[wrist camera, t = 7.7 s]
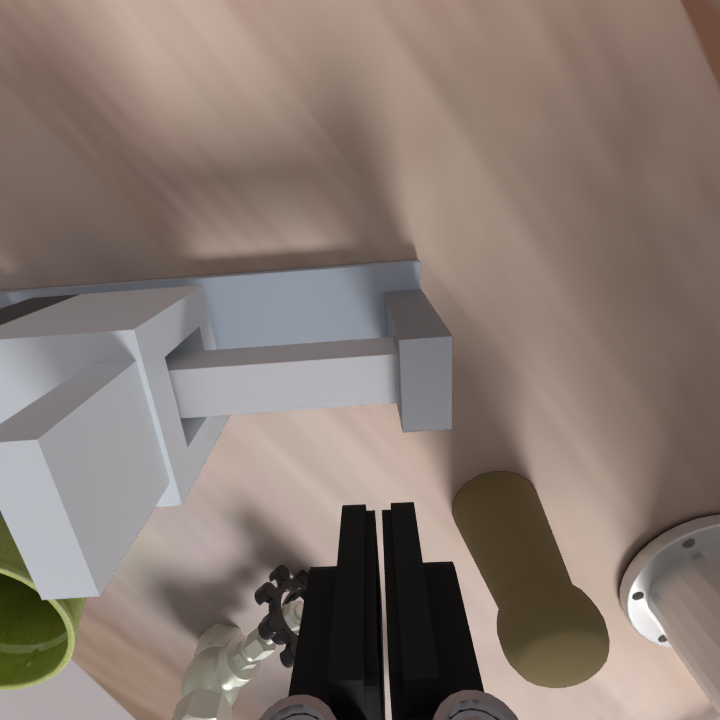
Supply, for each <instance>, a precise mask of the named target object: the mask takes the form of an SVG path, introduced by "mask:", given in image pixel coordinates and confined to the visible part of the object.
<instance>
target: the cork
mask: <svg viewBox="0 0 720 720" xmlns="http://www.w3.org/2000/svg"><path fill="white" fill-rule="evenodd" d="M452 515H453V518H454V520H455V523H456V525H457V527H458V529H459V531H460V533H461V535H462V537H463V539H464V541H465V543H466V545H467V547H468V549H469V551H470V553H471V555H472V557H473V559H474V561H475V563H476V565H477V567H478V569H479V571H480V573H481V575H482V577H483V579H484V581H485V583H486V585H487V587H488V589H489V591H490V593H491V595H492V596H493V598H494V600H495V602H496V604H497V606H498V608H499V610H498V616H497V634H498V637H499V640H500V644H501V647H502V649H503V652H504V655H505V657H506V658H507V660H508V662H509V663H510V665H511V666H512V667H513V668H514V669H515V670H516V671H517V672H518V673H519V674H520V675H521V676H522V677H523V678H524V679H525V680H527V681H529V682H531V683H533V684H535V685H538V686H543V687H549V688H565V687H569V686H574V685H577V684H580V683H582V682H584V681H586V680H588V679H589V678H591V677H592V676H593V675H594V674H596V673H597V672H598V671H599V670H600V669H601V668H602V666H603V665H604V663H605V662H606V661H607V657H608V653H609V641H610V640H609V636H608V631H607V627H606V624H605V621H604V618H603V616H602V615H601V613H600V611H599V610H598V608H597V607H596V605H595V604H594V603H593V602H592V600H591V599H590V598H589V597H588V596H587V595H586V594H585V593H584V592H583V591H582V590H581V589H579V588H578V587H576V586H574V585H572V582H571V579H570V577H569V574H568V572H567V569H566V566H565V564H564V561H563V559H562V556H561V554H560V551H559V548H558V546H557V543H556V541H555V538H554V535H553V533H552V530H551V528H550V525H549V523H548V520H547V517H546V515H545V512H544V510H543V507H542V504H541V502H540V499H539V497H538V494H537V491H536V489H535V488H534V487H533V485H532V484H531V483H530V481H529V480H527V479H525V478H524V477H522V476H520V475H519V474H515V473H511V472H507V471H498V472H489V473H486V474H482V475H479V476H477V477H475V478H474V479H472V480H470V481H469V482H467V483H466V484H465V485H464V486H463V487H462V488H461V489H460V490H459V492H458V493H457V495H456V497H455V500H454V502H453V510H452Z"/></svg>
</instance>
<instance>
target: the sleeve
mask: <svg viewBox="0 0 720 720" xmlns="http://www.w3.org/2000/svg"><path fill="white" fill-rule="evenodd" d="M206 350H217V349H216V344H215V339H214V334H213V329H212V324H211V320H210V315H209V310H208V305H207V300H206V295H205V290H204V285H196V286H183V287H170V288H156V289H143V290H130V291H116V292H103V293H90V294H80V295H77V296H75V297H72V298H70V299H67V300H64V301H62V302H59V303H57V304H54V305H51V306H49V307H46V308H44V309H41V310H39V311H36V312H33V313H31V314H28V315H26V316H23V317H20V318H18V319H15V320H13V321H10V322H7V323H5V324H2V325H0V511H1V513H2V515H3V517H4V520H5V522H6V524H7V526H8V528H9V530H10V533H11V535H12V537H13V539H14V541H15V543H16V545H17V548H18V550H19V552H20V554H21V556H22V558H23V560H24V563H25V565H26V567H27V569H28V571H29V573H30V576H31V578H32V580H33V582H34V584H35V586H36V588H37V591H38V593H39V595H40V597H41V599H42V600H51V599H67V598H82V597H97V596H100V595H101V593H102V591H103V590H104V588H105V587H106V585H107V583H108V582H109V580H110V579H111V577H112V575H113V574H114V572H115V571H116V569H117V567H118V566H119V564H120V563H121V561H122V559H123V558H124V556H125V555H126V553H127V551H128V550H129V548H130V546H131V545H132V543H133V542H134V540H135V538H136V537H137V535H138V534H139V532H140V530H141V529H142V527H143V526H144V524H145V522H146V521H147V519H148V518H149V516H150V514H151V513H152V511H153V510H154V508H155V507H164V506H179V505H182V504H183V502H184V501H185V499H186V497H187V495H188V493H189V491H190V489H191V488H192V486H193V484H194V482H195V480H196V478H197V477H198V475H199V473H200V471H201V469H202V467H203V465H204V464H205V462H206V460H207V458H208V456H209V454H210V453H211V451H212V449H213V447H214V445H215V443H216V441H217V440H218V438H219V436H220V434H221V432H222V430H223V428H224V427H225V425H226V423H227V421H228V419H229V417H230V415H222V416H208V417H194V418H180V416H179V412H178V408H177V404H176V400H175V396H174V392H173V388H172V384H171V380H170V376H169V372H168V368H167V364H166V360H165V357H166V356H167V355H168V354H169V353H178V352H192V351H206Z"/></svg>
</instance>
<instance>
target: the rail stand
mask: <svg viewBox="0 0 720 720" xmlns="http://www.w3.org/2000/svg"><path fill="white" fill-rule="evenodd" d="M196 285H204V290H205V295H206V300H207V305H208V310H209V315H210V320H211V324H212V329H213V334H214V339H215V344H216V349H217V350H206V351H192V352H178V353H169V354H168V355H167V356H166V357H165V360H166V364H167V368H168V372H169V376H170V380H171V384H172V388H173V392H174V396H175V400H176V404H177V408H178V412H179V416H180V418H194V417H208V416H222V415H236V414H250V413H264V412H278V411H292V410H306V409H320V408H334V407H348V406H362V405H377V404H391V403H397V406H398V411H399V416H400V420H401V425H402V430H403V432H417V431H431V430H446V429H452V335H451V333H450V332H449V330H448V329H447V327H446V326H445V325H444V323H443V322H442V320H441V319H440V317H439V316H438V314H437V313H436V311H435V310H434V308H433V307H432V305H431V304H430V302H429V301H428V299H427V298H426V296H425V295H424V293H423V292H422V291H421V277H420V261H419V260H406V261H393V262H380V263H366V264H353V265H340V266H327V267H313V268H300V269H287V270H273V271H260V272H247V273H233V274H220V275H207V276H194V277H180V278H167V279H154V280H140V281H127V282H114V283H100V284H87V285H74V286H61V287H47V288H34V289H21V290H7V291H0V309H1V308H3V307H6V306H9V305H12V304H15V303H18V302H21V301H24V300H27V299H30V298H36V297H50V296H63V295H76V294H90V293H103V292H116V291H130V290H143V289H156V288H170V287H183V286H196Z"/></svg>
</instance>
